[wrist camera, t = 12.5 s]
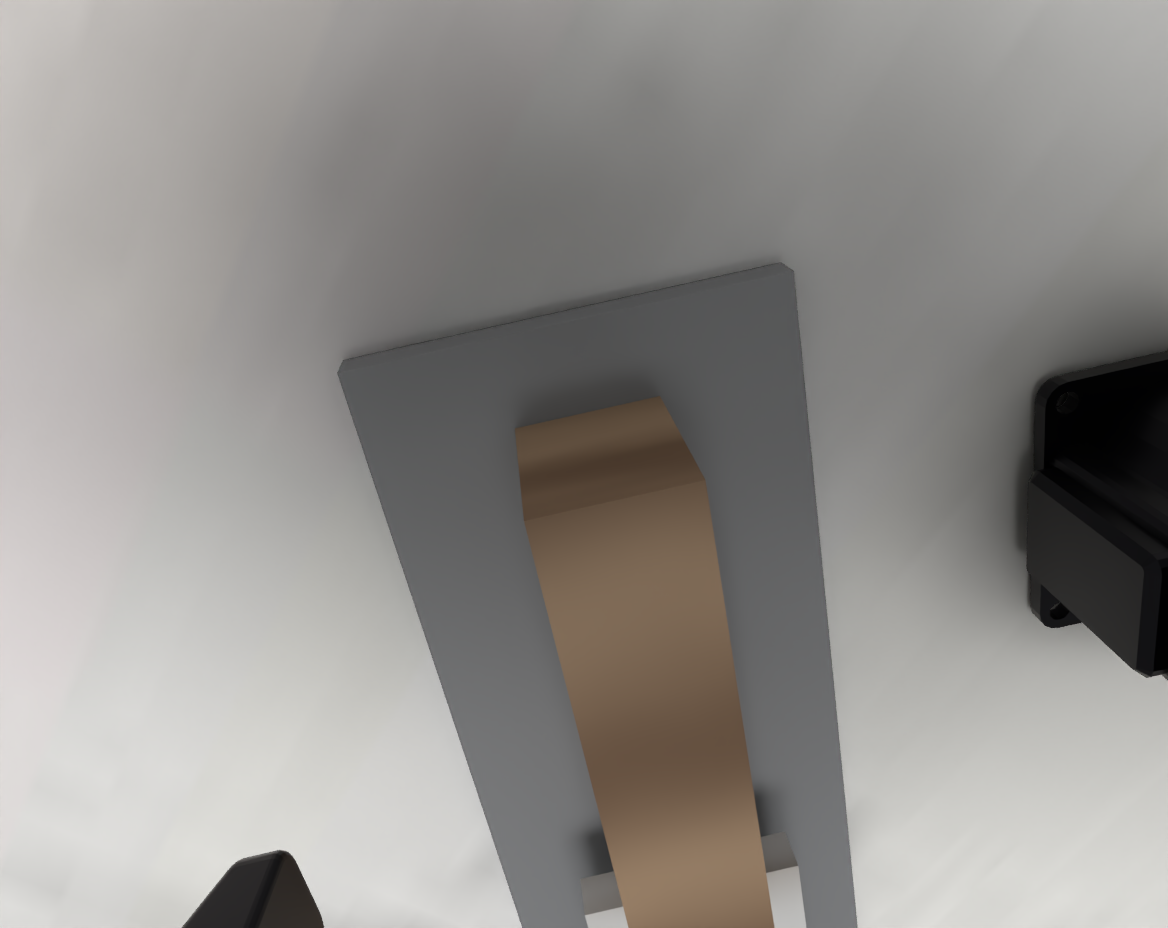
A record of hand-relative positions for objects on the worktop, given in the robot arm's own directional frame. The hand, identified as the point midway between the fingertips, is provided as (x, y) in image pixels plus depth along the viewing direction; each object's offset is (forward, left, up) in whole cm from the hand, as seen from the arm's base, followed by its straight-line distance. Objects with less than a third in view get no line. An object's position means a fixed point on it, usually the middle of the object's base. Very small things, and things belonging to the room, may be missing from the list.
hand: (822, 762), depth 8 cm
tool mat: (+1, +11, -12) cm, 16 cm away
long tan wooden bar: (+1, +10, -11) cm, 15 cm away
